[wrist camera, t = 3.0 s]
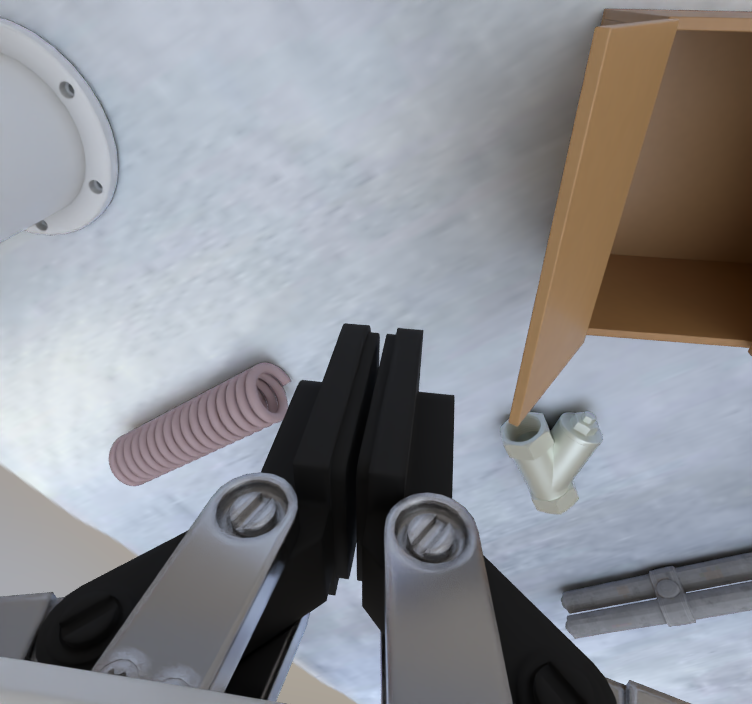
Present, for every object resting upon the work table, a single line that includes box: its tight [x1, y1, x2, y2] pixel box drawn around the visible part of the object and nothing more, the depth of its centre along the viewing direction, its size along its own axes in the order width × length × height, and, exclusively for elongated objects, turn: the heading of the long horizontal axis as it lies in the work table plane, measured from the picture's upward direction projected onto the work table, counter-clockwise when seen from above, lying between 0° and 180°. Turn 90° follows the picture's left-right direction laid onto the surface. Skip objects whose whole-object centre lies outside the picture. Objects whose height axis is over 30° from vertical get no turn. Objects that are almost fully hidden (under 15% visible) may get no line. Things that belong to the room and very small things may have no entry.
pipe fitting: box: [500, 411, 603, 514], centre depth 40 cm, size 8×4×7 cm
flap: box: [509, 19, 679, 426], centre depth 18 cm, size 7×13×1 cm
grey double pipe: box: [561, 552, 752, 639], centre depth 45 cm, size 26×3×5 cm, turn 123°
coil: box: [109, 363, 291, 486], centre depth 42 cm, size 5×5×18 cm
